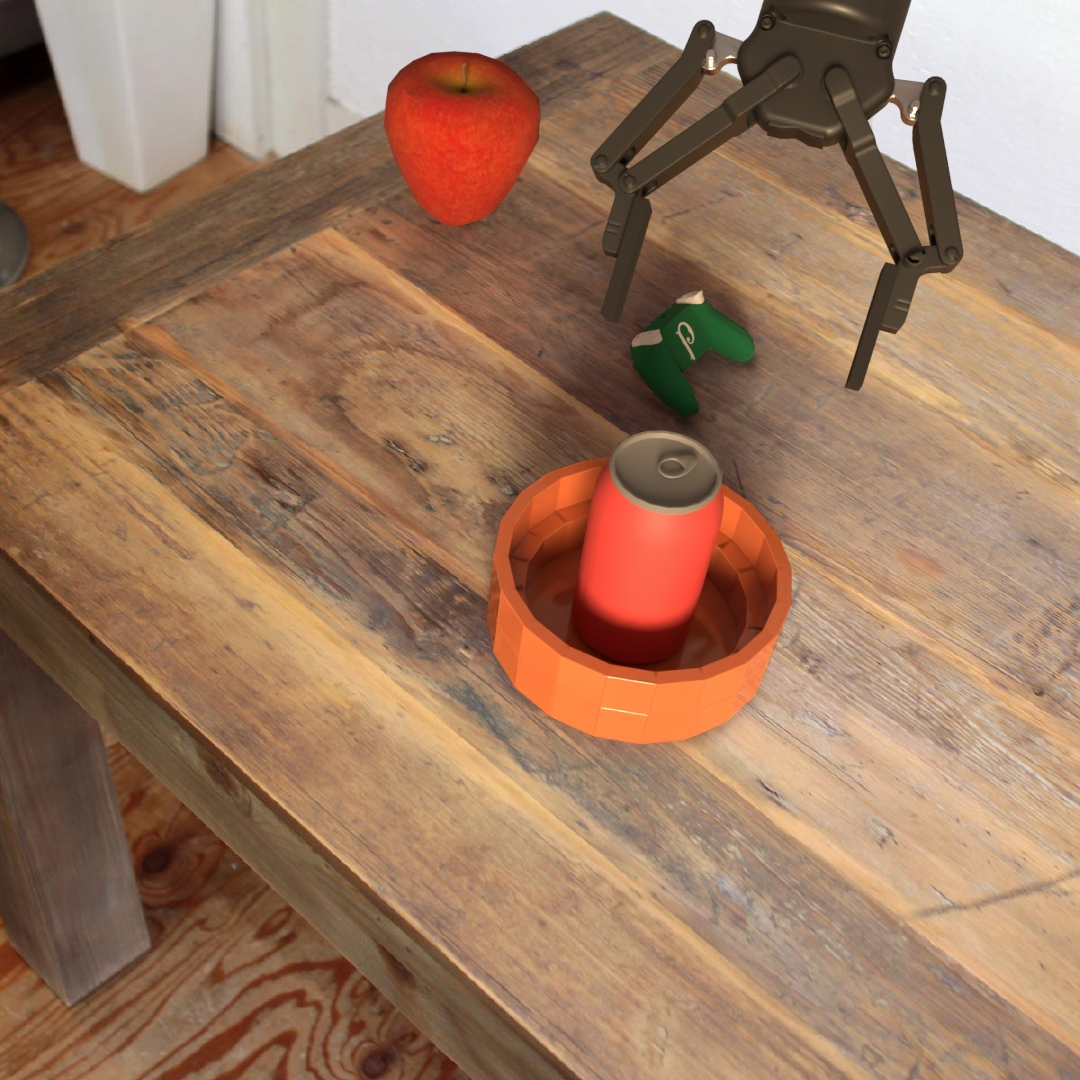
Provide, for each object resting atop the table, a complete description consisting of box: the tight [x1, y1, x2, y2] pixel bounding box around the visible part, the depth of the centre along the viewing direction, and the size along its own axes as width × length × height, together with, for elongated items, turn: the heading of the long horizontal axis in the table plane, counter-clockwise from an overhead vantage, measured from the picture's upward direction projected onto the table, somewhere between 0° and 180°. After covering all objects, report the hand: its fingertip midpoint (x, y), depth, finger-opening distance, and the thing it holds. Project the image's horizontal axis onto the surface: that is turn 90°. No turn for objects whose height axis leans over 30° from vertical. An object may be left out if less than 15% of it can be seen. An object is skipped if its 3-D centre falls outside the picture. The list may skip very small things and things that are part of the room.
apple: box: [383, 50, 541, 227], centre depth 95 cm, size 11×11×12 cm
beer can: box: [571, 430, 724, 664], centre depth 69 cm, size 7×7×12 cm
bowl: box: [485, 456, 793, 745], centre depth 72 cm, size 16×16×6 cm
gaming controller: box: [629, 289, 756, 420], centre depth 88 cm, size 9×4×6 cm
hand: (729, 353), depth 72 cm, fingers open, 13 cm apart
